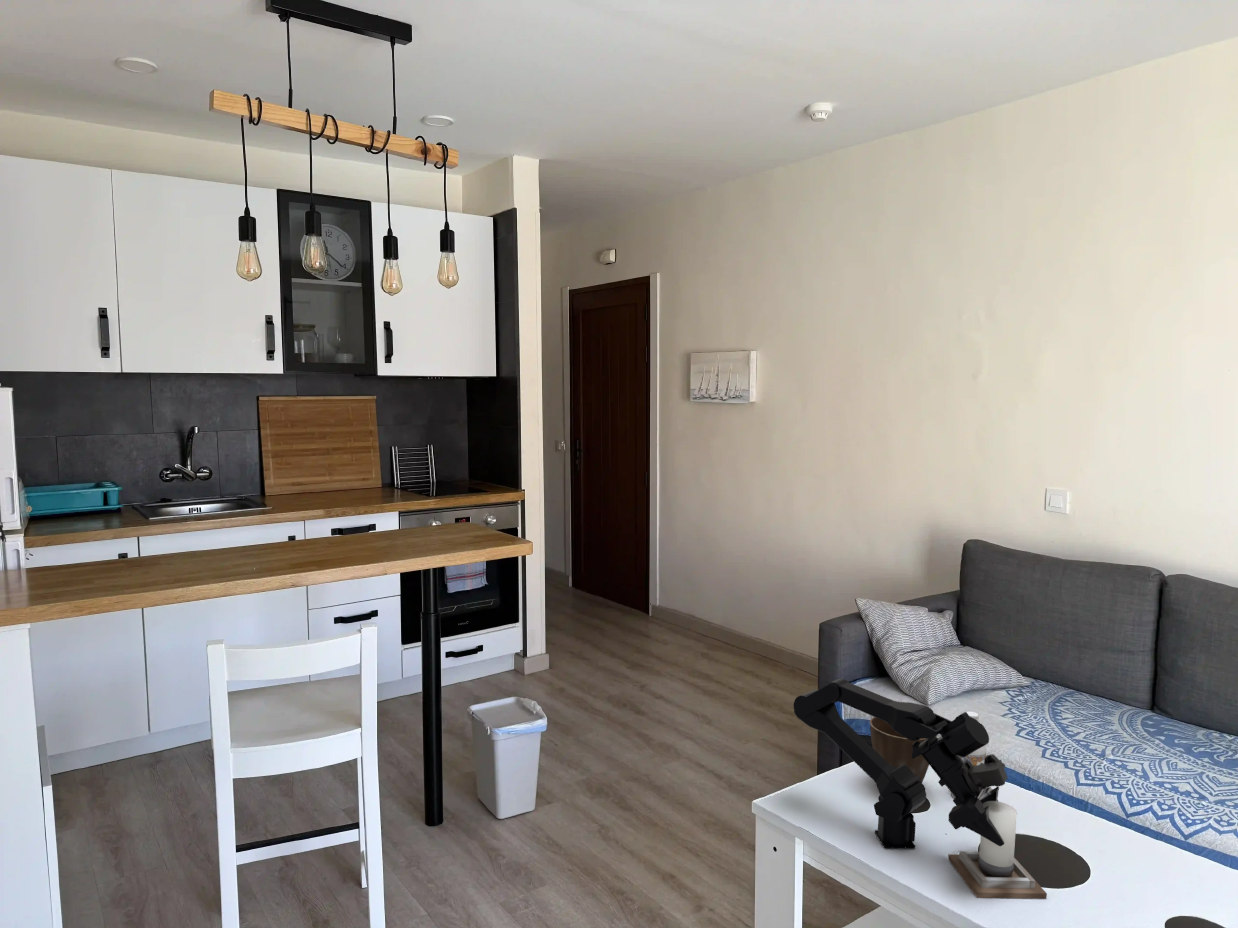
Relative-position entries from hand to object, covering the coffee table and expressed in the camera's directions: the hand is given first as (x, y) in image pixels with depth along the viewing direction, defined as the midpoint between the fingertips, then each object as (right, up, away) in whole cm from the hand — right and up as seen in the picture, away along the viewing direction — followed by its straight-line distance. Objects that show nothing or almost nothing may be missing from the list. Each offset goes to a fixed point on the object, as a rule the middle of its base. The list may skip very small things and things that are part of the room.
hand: (1005, 837), depth 160 cm
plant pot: (-8, -6, +36) cm, 38 cm away
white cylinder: (-1, -6, +1) cm, 7 cm away
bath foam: (+7, -6, +35) cm, 36 cm away
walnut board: (-1, -8, +1) cm, 9 cm away
